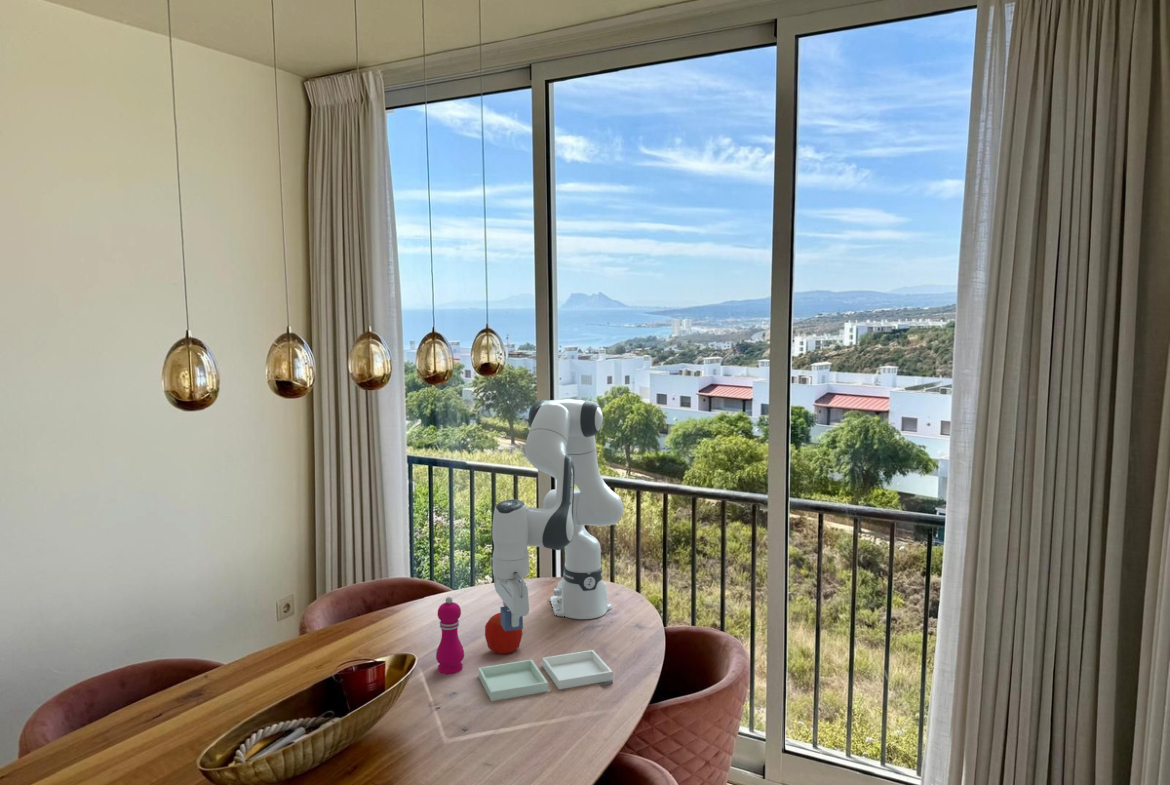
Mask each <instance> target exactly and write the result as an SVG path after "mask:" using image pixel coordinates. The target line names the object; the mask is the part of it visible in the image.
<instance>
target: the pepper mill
mask: <svg viewBox="0 0 1170 785" xmlns="http://www.w3.org/2000/svg"><path fill="white" fill-rule="evenodd" d="M461 611H462V610H461V606H460V605H459V604H458V603H457V602H453V598H452V597H451V596H447V597H446V598H445V602H444V603H443V602H442V604H440V606H439V607H438V609H437V618H438V619H439V628H440V629H441V637H440V638H441V639H440V642H439V645H438V647H437V649H436V654H435V658H436V662H437V663H438V666H437V670H438V672H439V673H440V674H443V675H453V674H457V673H458V674H459V672H461V671H463V667H464V666H463V662H462V661H463V660H464V658H465V652H464V646H463V645H462V643H461V641H460V637H459V634H458V633H459V632H458V628H459V627H460V620H459V618H461V615H462V612H461Z"/></svg>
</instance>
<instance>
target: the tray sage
mask: <svg viewBox="0 0 1170 785" xmlns="http://www.w3.org/2000/svg"><path fill="white" fill-rule="evenodd" d="M477 672H478V676H477V677H478V679H479V680H480V683H481V684H482V686H483V688H484V690H485V692H486V694H487V696H488V698H489V699H490V702H494V701H501V700H506V699H513V698H518V697H524V696H530V695H531V696H532V695H536V694H541V693H542V694H543V693H548V692H549V682H548V680H547V679H546V678H545V676H544V674H543V673H542V672H541V670H540V669H539V667H538V666H537V664H536V663H535V662H534V660H533V659H526V660H519V661H512V662H508V663H501V664H500V663H499V664H494V665H493V664H492V665H488V666H482V667H481V666H480V667H478V668H477Z"/></svg>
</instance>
